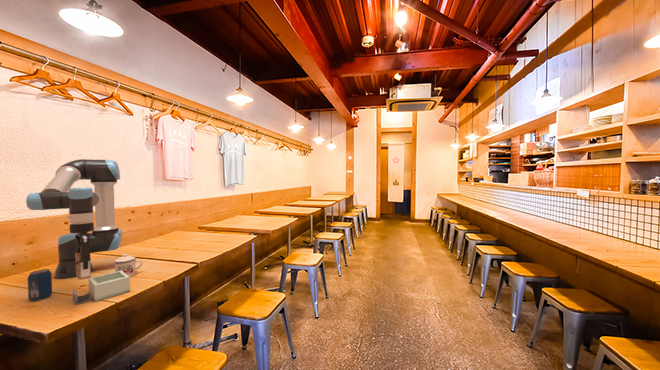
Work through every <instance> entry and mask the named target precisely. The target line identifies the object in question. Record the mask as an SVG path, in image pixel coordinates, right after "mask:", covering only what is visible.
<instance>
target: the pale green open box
mask: <svg viewBox="0 0 660 370" xmlns="http://www.w3.org/2000/svg"><path fill="white" fill-rule="evenodd" d="M87 279H88V280H87V281H88V283H87V284H88V294H91V295H92V297H93V298H94V300H93V301H94V302H98V301H99V302H100V301H103V300H106V299H110V298H113V297H116V296H120V295H123V294H126V293H130V292H131V286H130V285H131V284H130V283H131V280H130V279H131V276H130V277H129V276H128V275H127V274H125V273H124V272H123V271H117V272H115V271H114V272H109V273H104V274H100V275H96V276H91V278H87Z"/></svg>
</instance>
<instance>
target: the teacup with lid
mask: <svg viewBox="0 0 660 370" xmlns="http://www.w3.org/2000/svg"><path fill="white" fill-rule="evenodd" d="M137 262H139V263H140V265H139V266H138V267H136V263H137ZM113 263H114V272H117V271H123V272H124V273H125V274H127V275H128V276H129V277H130V278H131V277H132V276H135V275H136V270H138V269H140V268H142V267H143V266H142V265H143V261H142V260H140V259H136V257H135V256H132V255H128V253H124V254H122V256H120V257H118V258H116V259H115V260H114V261H113Z"/></svg>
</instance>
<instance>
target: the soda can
mask: <svg viewBox="0 0 660 370" xmlns="http://www.w3.org/2000/svg"><path fill="white" fill-rule="evenodd" d="M52 276H53V275H52V272H51V270H50V269H48V268H46V269H45V268H44V269H39V270H34V271H32V272H30V273H29V275H28V276H27V291H28V292H27V293H28V294H27V297H28V299H29V301H31V302H36V301H37V302H38V301H42V300H45V299H47V298H49V297H51V295H52V294H53V278H52Z"/></svg>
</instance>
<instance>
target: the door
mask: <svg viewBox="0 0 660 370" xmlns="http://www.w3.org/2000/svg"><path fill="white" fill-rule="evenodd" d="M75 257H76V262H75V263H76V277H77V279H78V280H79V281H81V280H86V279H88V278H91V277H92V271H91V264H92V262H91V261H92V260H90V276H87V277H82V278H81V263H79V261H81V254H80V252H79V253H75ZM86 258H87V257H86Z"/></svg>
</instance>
